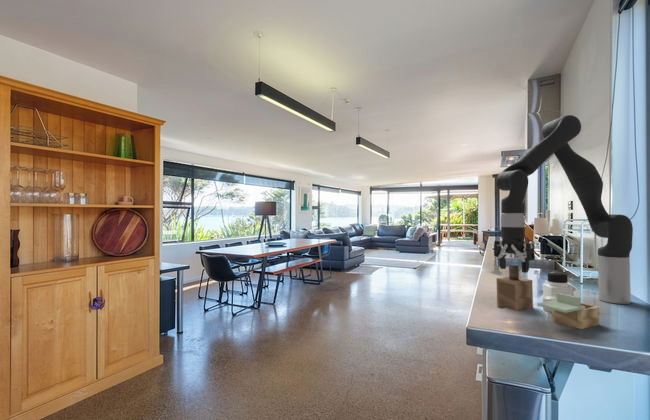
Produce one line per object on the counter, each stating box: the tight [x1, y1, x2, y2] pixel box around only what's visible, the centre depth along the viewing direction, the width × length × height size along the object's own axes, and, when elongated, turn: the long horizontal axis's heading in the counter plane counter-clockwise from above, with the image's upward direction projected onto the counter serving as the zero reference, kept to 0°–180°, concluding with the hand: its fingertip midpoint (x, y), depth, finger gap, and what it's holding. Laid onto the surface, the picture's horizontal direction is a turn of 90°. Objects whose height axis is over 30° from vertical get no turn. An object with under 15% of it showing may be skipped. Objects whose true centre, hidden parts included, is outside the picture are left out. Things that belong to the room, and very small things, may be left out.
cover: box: [496, 264, 534, 311], centre depth 117 cm, size 8×8×16 cm
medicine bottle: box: [542, 271, 574, 297], centre depth 121 cm, size 7×7×12 cm
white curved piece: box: [542, 295, 557, 313], centre depth 111 cm, size 4×4×5 cm
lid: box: [536, 293, 585, 313], centre depth 96 cm, size 9×8×3 cm
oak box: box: [551, 302, 600, 330], centre depth 99 cm, size 9×8×6 cm
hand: (513, 270), depth 117 cm, fingers open, 8 cm apart
